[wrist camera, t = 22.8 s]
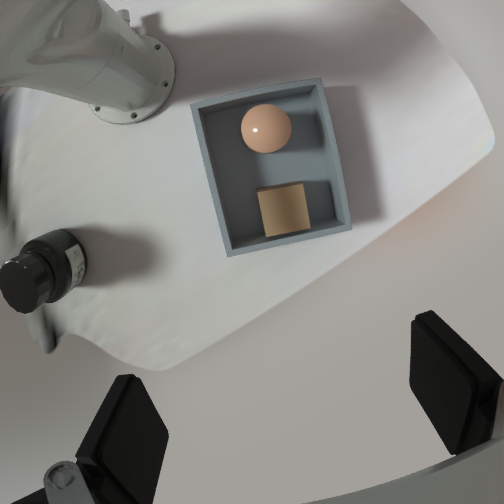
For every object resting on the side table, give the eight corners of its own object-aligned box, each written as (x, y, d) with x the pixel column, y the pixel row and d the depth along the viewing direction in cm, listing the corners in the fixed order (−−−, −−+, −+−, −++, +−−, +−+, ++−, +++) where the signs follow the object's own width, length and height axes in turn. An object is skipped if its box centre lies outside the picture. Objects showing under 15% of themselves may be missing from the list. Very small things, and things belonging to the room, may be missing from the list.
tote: (197, 111, 37) (190, 104, 32) (311, 88, 36) (320, 77, 31) (230, 244, 42) (227, 257, 37) (339, 220, 41) (352, 229, 36)
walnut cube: (264, 227, 41) (266, 237, 36) (256, 188, 39) (257, 192, 35) (303, 220, 40) (310, 228, 36) (296, 180, 39) (302, 183, 34)
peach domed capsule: (238, 118, 37) (236, 110, 30) (278, 110, 37) (285, 99, 30) (247, 157, 38) (247, 157, 32) (288, 149, 38) (296, 146, 31)
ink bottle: (74, 299, 44) (34, 336, 33) (34, 266, 43) (-13, 295, 31) (98, 249, 42) (55, 278, 30) (54, 215, 40) (3, 233, 29)
